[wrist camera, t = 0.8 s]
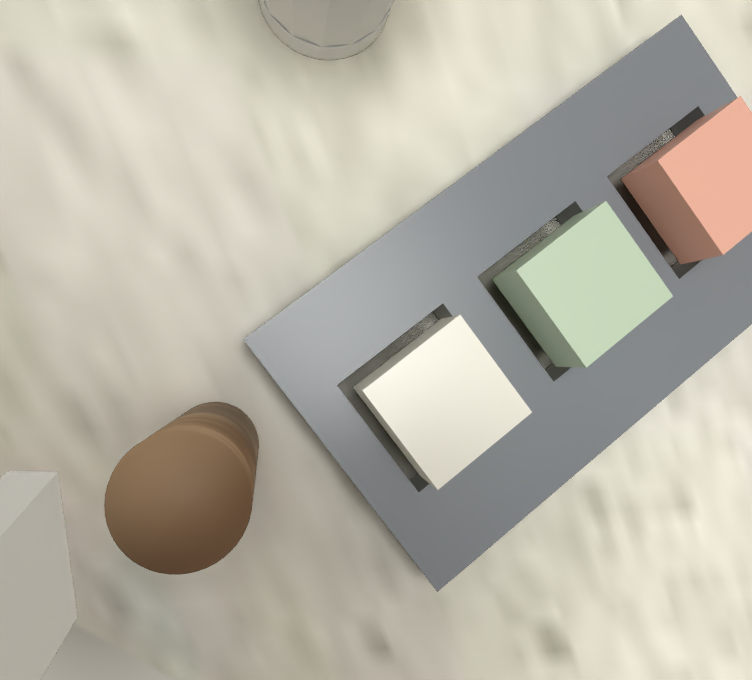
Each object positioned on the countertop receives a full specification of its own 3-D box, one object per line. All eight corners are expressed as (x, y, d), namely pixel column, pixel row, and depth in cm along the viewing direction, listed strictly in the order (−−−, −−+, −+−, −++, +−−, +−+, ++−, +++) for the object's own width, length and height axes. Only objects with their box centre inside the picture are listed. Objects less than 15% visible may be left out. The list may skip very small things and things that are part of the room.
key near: (352, 387, 29) (362, 390, 26) (440, 318, 30) (460, 314, 27) (420, 476, 29) (438, 489, 26) (506, 406, 30) (532, 412, 27)
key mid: (492, 279, 30) (516, 270, 27) (573, 215, 31) (606, 200, 28) (555, 366, 30) (586, 367, 27) (634, 301, 31) (673, 296, 28)
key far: (620, 179, 31) (657, 160, 28) (696, 120, 32) (740, 96, 29) (680, 264, 32) (723, 255, 29) (754, 204, 32) (803, 189, 29)
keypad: (245, 341, 31) (243, 339, 28) (651, 39, 34) (681, 14, 32) (424, 573, 32) (437, 591, 29) (799, 256, 35) (839, 249, 33)
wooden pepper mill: (150, 438, 30) (73, 492, 18) (223, 384, 30) (194, 402, 19) (205, 507, 30) (164, 604, 18) (276, 452, 31) (280, 512, 19)
